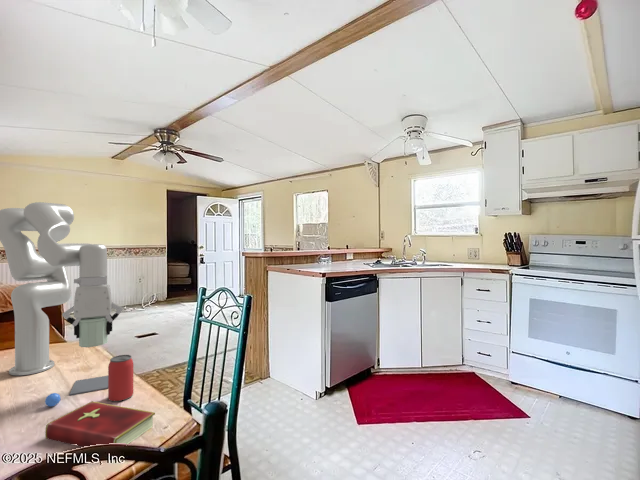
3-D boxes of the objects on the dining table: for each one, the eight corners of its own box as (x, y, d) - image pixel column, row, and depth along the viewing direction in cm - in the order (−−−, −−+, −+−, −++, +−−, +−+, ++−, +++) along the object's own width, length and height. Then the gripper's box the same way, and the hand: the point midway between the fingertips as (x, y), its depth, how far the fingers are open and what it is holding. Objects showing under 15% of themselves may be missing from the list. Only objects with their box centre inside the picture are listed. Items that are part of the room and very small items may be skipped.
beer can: (121, 403, 97) (121, 362, 97) (102, 401, 98) (102, 360, 98) (138, 393, 103) (138, 354, 103) (120, 391, 105) (120, 353, 105)
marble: (46, 404, 96) (46, 392, 96) (61, 401, 98) (61, 389, 98) (43, 410, 93) (43, 397, 93) (59, 407, 95) (59, 394, 95)
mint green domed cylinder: (81, 342, 111) (81, 316, 111) (108, 338, 114) (108, 314, 114) (77, 348, 104) (77, 321, 104) (106, 345, 108) (106, 318, 108)
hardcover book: (114, 457, 74) (114, 438, 74) (45, 440, 80) (45, 423, 80) (155, 427, 86) (155, 411, 86) (92, 415, 91) (92, 400, 91)
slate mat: (75, 381, 112) (75, 380, 112) (114, 375, 117) (114, 374, 117) (69, 395, 102) (69, 394, 102) (111, 388, 107) (111, 386, 107)
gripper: (57, 285, 102) (57, 342, 102) (123, 281, 110) (123, 334, 110) (62, 282, 108) (63, 336, 108) (124, 279, 117) (125, 329, 117)
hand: (93, 335), depth 109 cm, fingers closed on mint green domed cylinder, 7 cm apart
